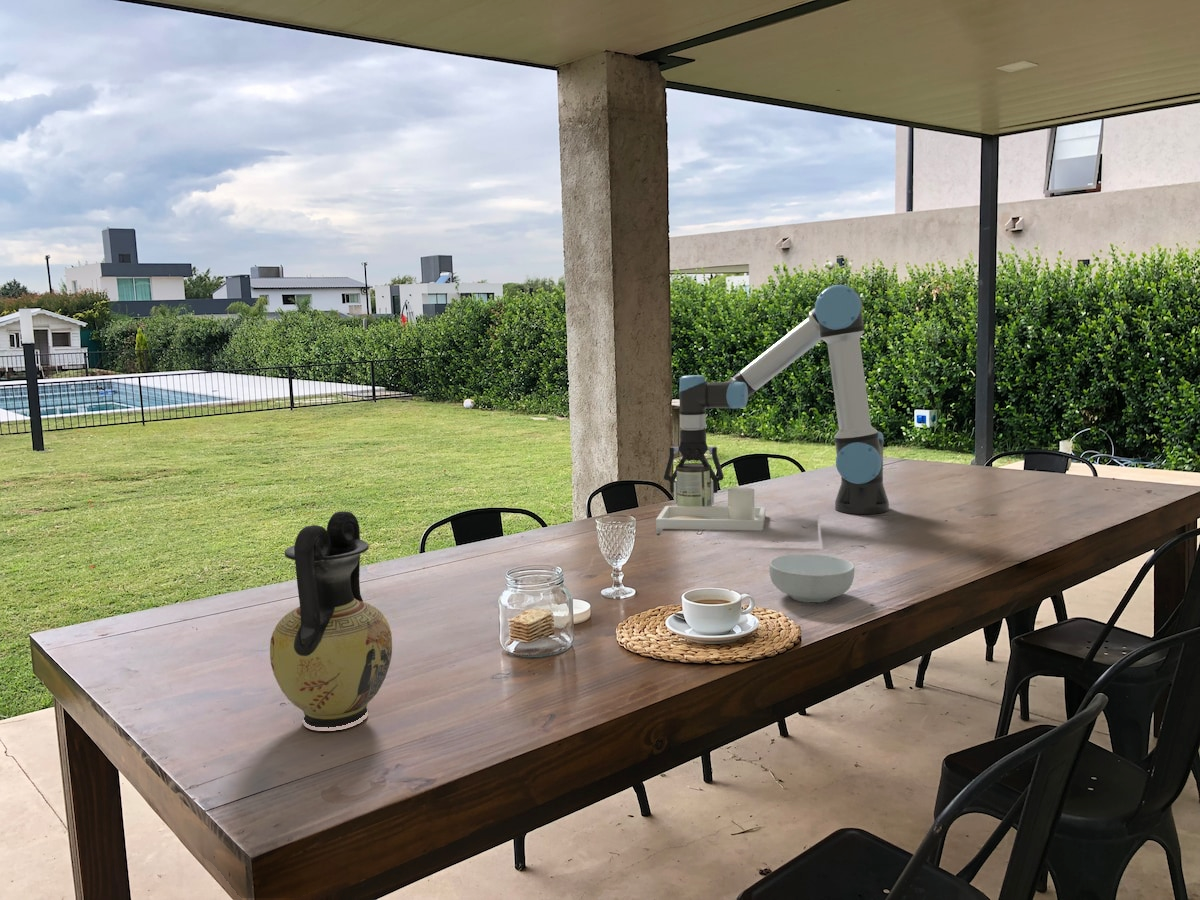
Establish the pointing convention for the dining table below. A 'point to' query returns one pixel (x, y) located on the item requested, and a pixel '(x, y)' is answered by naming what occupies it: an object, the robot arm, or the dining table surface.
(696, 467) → the coffee can
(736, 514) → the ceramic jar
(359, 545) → the amphora
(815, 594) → the cereal bowl
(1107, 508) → the dining table surface
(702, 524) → the tray
